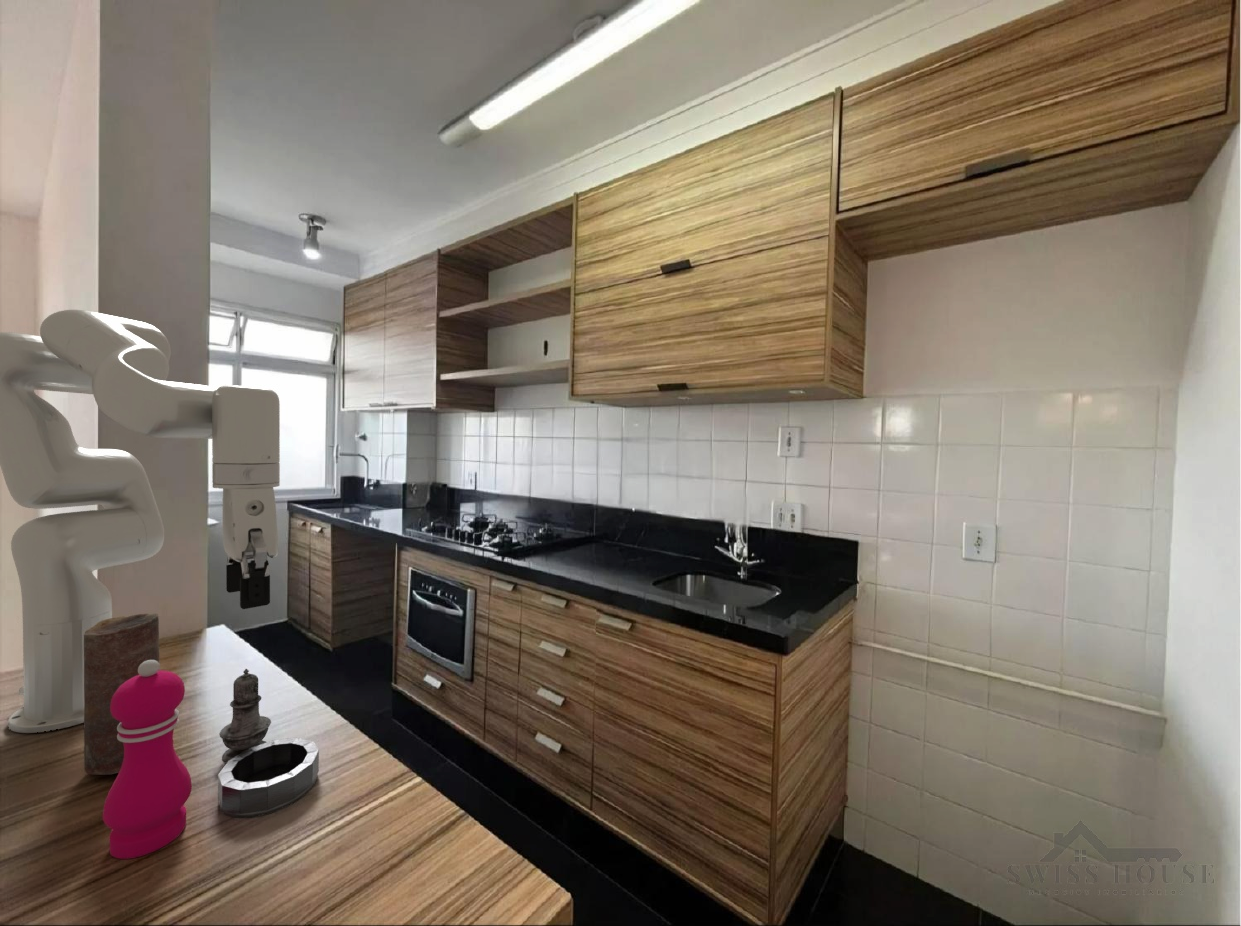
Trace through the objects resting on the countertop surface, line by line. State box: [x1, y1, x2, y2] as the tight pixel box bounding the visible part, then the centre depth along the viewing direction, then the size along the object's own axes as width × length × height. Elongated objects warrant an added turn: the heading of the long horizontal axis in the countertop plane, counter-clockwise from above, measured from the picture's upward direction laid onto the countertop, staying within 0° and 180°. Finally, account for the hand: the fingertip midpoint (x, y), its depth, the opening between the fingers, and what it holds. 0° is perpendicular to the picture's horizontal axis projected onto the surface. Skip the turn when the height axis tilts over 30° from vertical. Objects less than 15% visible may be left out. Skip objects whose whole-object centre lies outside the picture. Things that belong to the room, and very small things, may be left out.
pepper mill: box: [102, 660, 193, 860], centre depth 56 cm, size 7×7×20 cm
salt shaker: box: [219, 668, 272, 764], centre depth 72 cm, size 6×6×12 cm
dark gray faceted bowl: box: [217, 737, 320, 819], centre depth 65 cm, size 10×10×4 cm
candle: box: [83, 612, 160, 776], centre depth 68 cm, size 8×7×20 cm
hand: (247, 598), depth 71 cm, fingers open, 9 cm apart
